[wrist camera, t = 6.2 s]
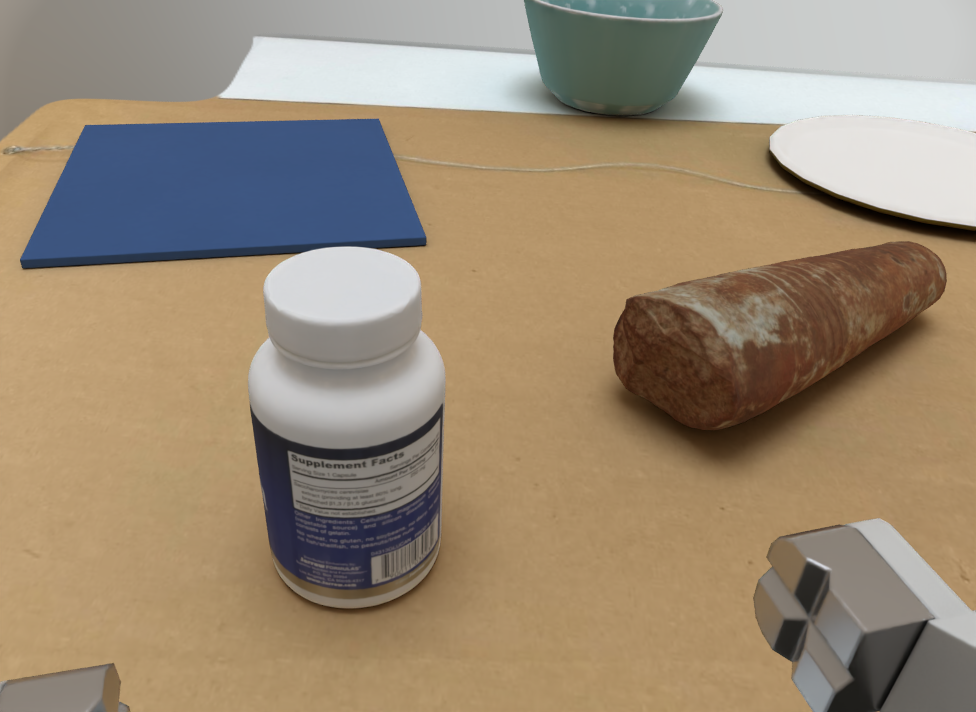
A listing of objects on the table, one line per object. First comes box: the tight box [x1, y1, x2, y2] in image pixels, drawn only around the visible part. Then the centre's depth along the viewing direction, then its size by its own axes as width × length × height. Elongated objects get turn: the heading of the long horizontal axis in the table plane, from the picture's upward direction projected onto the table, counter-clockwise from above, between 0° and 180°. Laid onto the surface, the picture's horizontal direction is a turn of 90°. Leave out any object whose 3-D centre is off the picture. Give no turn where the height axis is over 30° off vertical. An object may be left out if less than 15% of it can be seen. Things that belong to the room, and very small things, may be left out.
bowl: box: [524, 0, 723, 115], centre depth 67 cm, size 16×16×8 cm
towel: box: [20, 119, 426, 268], centre depth 50 cm, size 20×20×1 cm
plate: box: [769, 115, 976, 230], centre depth 57 cm, size 21×21×1 cm
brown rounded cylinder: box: [613, 241, 947, 430], centre depth 35 cm, size 6×19×6 cm, turn 125°
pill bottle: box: [248, 247, 445, 608], centre depth 23 cm, size 5×5×10 cm
